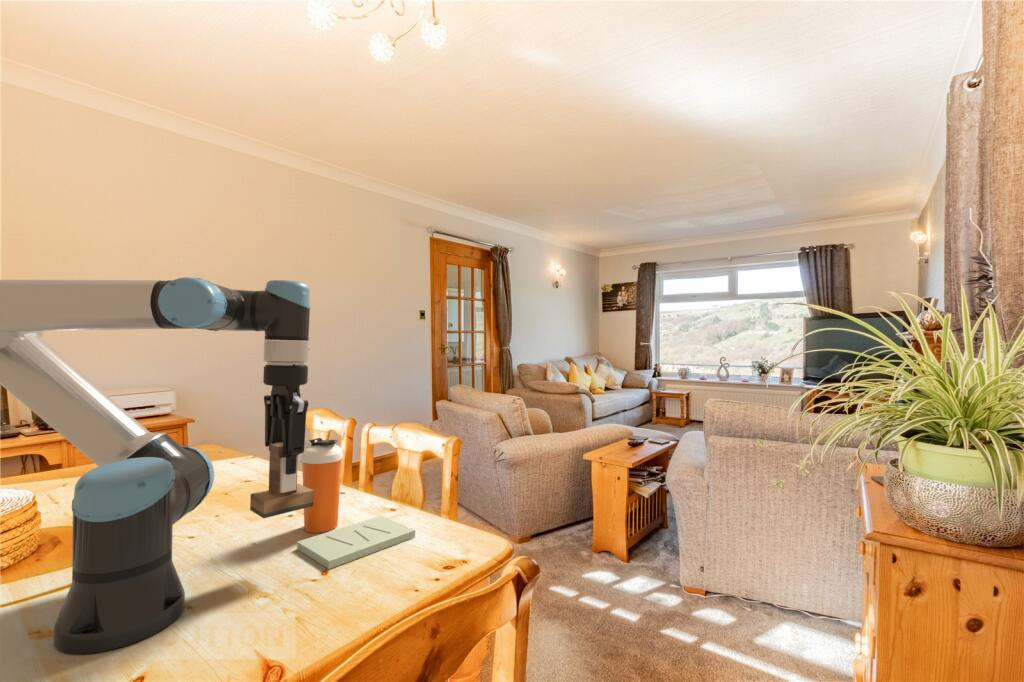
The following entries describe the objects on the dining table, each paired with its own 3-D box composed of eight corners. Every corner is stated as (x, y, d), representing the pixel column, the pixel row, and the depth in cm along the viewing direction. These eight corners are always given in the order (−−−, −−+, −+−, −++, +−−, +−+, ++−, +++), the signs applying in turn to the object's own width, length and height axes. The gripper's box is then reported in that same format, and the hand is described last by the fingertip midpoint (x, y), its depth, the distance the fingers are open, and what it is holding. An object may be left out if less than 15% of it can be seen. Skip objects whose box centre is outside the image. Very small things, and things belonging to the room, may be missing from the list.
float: (263, 518, 83) (265, 450, 83) (250, 510, 87) (252, 444, 87) (313, 506, 90) (315, 443, 90) (298, 498, 94) (300, 438, 94)
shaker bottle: (327, 536, 104) (328, 445, 104) (291, 532, 105) (292, 443, 105) (349, 521, 112) (350, 437, 112) (315, 518, 114) (316, 435, 114)
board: (329, 569, 89) (329, 560, 89) (297, 549, 97) (297, 541, 97) (415, 536, 104) (415, 529, 104) (380, 522, 112) (381, 515, 112)
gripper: (327, 365, 86) (323, 493, 86) (286, 361, 97) (283, 475, 97) (285, 366, 81) (281, 503, 80) (247, 362, 92) (243, 483, 91)
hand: (282, 488), depth 89 cm, fingers closed on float, 4 cm apart
